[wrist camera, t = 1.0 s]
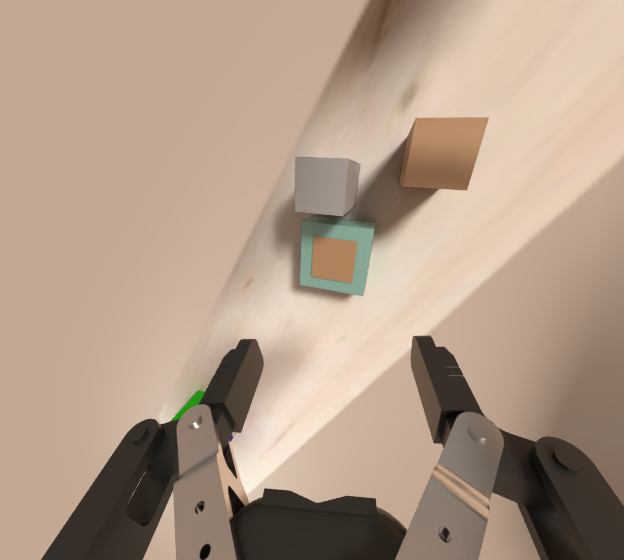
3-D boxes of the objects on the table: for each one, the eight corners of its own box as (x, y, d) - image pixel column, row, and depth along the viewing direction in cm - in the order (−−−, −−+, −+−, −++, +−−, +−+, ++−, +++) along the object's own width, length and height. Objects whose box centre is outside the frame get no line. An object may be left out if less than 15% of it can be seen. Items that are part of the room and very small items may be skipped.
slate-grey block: (322, 162, 31) (295, 156, 22) (360, 163, 30) (348, 158, 21) (319, 202, 33) (294, 211, 24) (355, 205, 32) (342, 216, 23)
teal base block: (313, 215, 34) (301, 221, 30) (376, 222, 32) (373, 229, 28) (309, 272, 38) (299, 285, 33) (366, 281, 36) (362, 296, 31)
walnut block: (407, 136, 27) (416, 117, 18) (455, 137, 26) (488, 117, 17) (398, 183, 29) (402, 186, 20) (442, 186, 28) (466, 190, 19)
